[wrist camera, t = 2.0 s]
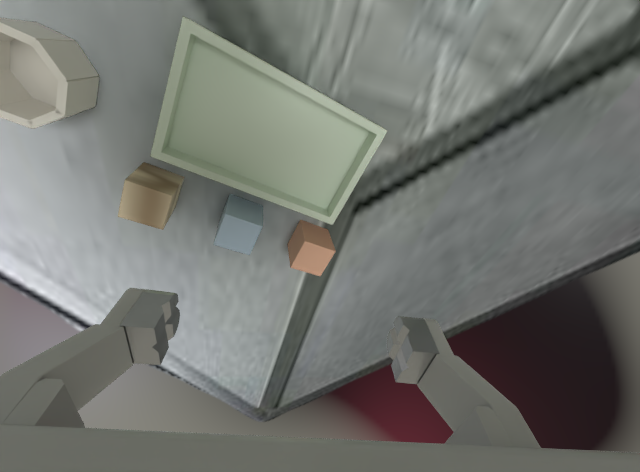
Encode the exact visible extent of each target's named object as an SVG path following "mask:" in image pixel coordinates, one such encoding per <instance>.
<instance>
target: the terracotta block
mask: <svg viewBox="0 0 640 472" xmlns="http://www.w3.org/2000/svg"><path fill="white" fill-rule="evenodd" d="M288 251H289V259H290V267H291V268H294V269H297V270H301V271H304V272H307V273H311V274H314V275H318V276H321V274H322V273H323V271H324V269H325V268H326V266H327V265H328V263H329V261H330V260H331V258H332V256H333V255H334V253H335V252H336V251H335V248H334V245H333V242H332V240H331V237H330V234H329V231H328V229H325V228H322V227H319V226H317V225H314V224H311V223H308V222H306V221H303V220H300V221H299V223H298V225H297V227H296V229H295V231H294V233H293V235H292V237H291V239H290V241H289V243H288Z"/></svg>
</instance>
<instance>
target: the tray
mask: <svg viewBox="0 0 640 472" xmlns="http://www.w3.org/2000/svg"><path fill="white" fill-rule="evenodd" d="M386 133H387V130H385V129H384V128H382V127H381V126H379V125H377V124H376V123H374V122H372V121H370V120H368V119H367V118H365V117H363V116H361V115H360V114H358V113H356V112H354V111H352V110H351V109H349V108H347V107H345V106H344V105H342V104H340V103H338V102H336V101H335V100H333V99H331V98H329V97H328V96H326V95H324V94H322V93H320V92H319V91H317V90H315V89H313V88H312V87H310V86H308V85H306V84H304V83H303V82H301V81H299V80H297V79H295V78H294V77H292V76H290V75H288V74H287V73H285V72H283V71H281V70H279V69H278V68H276V67H274V66H272V65H271V64H269V63H267V62H265V61H263V60H262V59H260V58H258V57H256V56H255V55H253V54H251V53H249V52H247V51H246V50H244V49H242V48H240V47H238V46H237V45H235V44H233V43H231V42H230V41H228V40H226V39H224V38H222V37H221V36H219V35H217V34H215V33H214V32H212V31H210V30H208V29H206V28H205V27H203V26H201V25H199V24H198V23H196V22H194V21H192V20H190V19H188V18H186V17H184V16H183V18H182V22H181V26H180V30H179V35H178V39H177V43H176V48H175V52H174V56H173V61H172V65H171V69H170V73H169V78H168V82H167V86H166V91H165V95H164V99H163V104H162V108H161V112H160V116H159V121H158V125H157V129H156V134H155V138H154V142H153V147H152V151H151V155H150V157H153V158H156V159H158V160H161V161H164V162H166V163H169V164H172V165H174V166H177V167H180V168H182V169H185V170H188V171H190V172H193V173H196V174H198V175H201V176H204V177H206V178H209V179H212V180H214V181H217V182H220V183H222V184H225V185H228V186H230V187H233V188H236V189H238V190H241V191H243V192H246V193H249V194H251V195H254V196H257V197H259V198H262V199H265V200H267V201H270V202H273V203H275V204H278V205H281V206H283V207H286V208H289V209H291V210H294V211H297V212H299V213H302V214H305V215H307V216H310V217H313V218H315V219H318V220H321V221H323V222H326V223H329V224H331V225H333V223H334V222H335V220H336V218H337V216H338V215H339V213H340V211H341V210H342V208H343V206H344V204H345V203H346V201H347V199H348V198H349V196H350V194H351V193H352V191H353V189H354V187H355V186H356V184H357V182H358V181H359V179H360V177H361V175H362V174H363V172H364V170H365V169H366V167H367V165H368V163H369V162H370V160H371V158H372V157H373V155H374V153H375V152H376V150H377V148H378V146H379V145H380V143H381V141H382V140H383V138H384V136H385V134H386Z"/></svg>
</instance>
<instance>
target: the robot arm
mask: <svg viewBox="0 0 640 472" xmlns="http://www.w3.org/2000/svg"><path fill="white" fill-rule="evenodd" d="M177 303H178V295H177V294H176V293H170V292H162V291H155V290H147V289H146V290H145V289H137V288H129V289H128V290H126V291H125V293H124V294H123V295H122V297H121V298H120V299H119V301H118V302H117V303H116V304H115V306H114V307H113V308H112V310H111V311H110V312H109V314H108V315H107V316H106V318H105V319H104V320H103V322H102V323H101V324H100V325H99V324H95V325H93V326H91V327H89V328H87V329H85V330H84V331H82V332H80V333H78V334H76V335H74V336H72V337H71V338H69V339H67V340H65V341H63V342H61V343H59V344H58V345H56V346H54V347H52V348H50V349H48V350H46V351H44V352H43V353H41V354H39V355H37V356H35V357H33V358H31V359H30V360H28V361H26V362H24V363H22V364H20V365H18V366H17V367H15V368H13V369H11V370H9V371H7V372H5V373H4V374H2V375H1V376H0V472H640V453H635V452H611V451H589V450H567V449H544V448H540V446H539V444H538V442H537V441H536V439H535V438H534V436H533V434H532V432H531V431H530V429H529V427H528V425H527V424H526V422H525V420H524V419H523V417H522V415H521V414H520V412H519V410H518V409H517V407H515V406H514V405H513V404H512V403H511V402H510V401H509V400H507V399H506V398H505V397H504V396H503V395H502V394H501V393H499V392H498V391H497V390H496V389H495V388H494V387H493V386H491V385H490V384H489V383H488V382H487V381H486V380H485V379H483V378H482V377H481V376H480V375H479V374H478V373H476V372H475V371H474V370H473V369H472V368H471V367H470V366H468V365H467V364H466V363H465V362H464V361H463V360H462V359H460V358H459V357H458V356H454V355H453V353H452V351H451V348H450V346H449V344H448V342H447V340H446V338H445V336H444V334H443V332H442V330H441V328H440V326H439V324H438V322H437V321H436V320H434V319H424V318H422V319H421V318H413V317H403V316H397V317H396V318H395V320H394V322H393V324H394V328H393V329H391V330H390V331H389V333H388V336H387V343H386V344H387V351H388V355H389V356H390V357H391V358H392V359H393V360H394V361H393V363H392V365H391V366H392V370H393V373H394V377H395V380H396V382H401V383H411V384H418V385H417V386H418V387H419V388H420V390H421V391H422V392H423V393H424V394H425V396H426V397H427V398H428V400H429V401H430V402H431V403H432V405H433V406H434V407H435V408H436V410H437V411H438V412H439V414H440V415H441V416H442V417H443V419H444V420H445V421H446V422H447V424H448V425H449V426H450V427H451V429H452V430H453V431H454V433H453V434H452V435H451V436H450V438H449V439H448V440H447V442H446V443H445V444H432V443H409V442H387V441H365V440H342V439H322V438H298V437H277V436H254V435H230V434H209V433H185V432H163V431H141V430H119V429H97V428H96V429H95V428H85V426H84V423H83V421H82V419H81V417H80V415H79V413H78V410H79V409H80V408H82V407H83V406H84V405H85V404H87V403H88V402H89V401H90V400H91V399H92V398H94V397H95V396H96V395H97V394H99V393H100V392H101V391H102V390H103V389H105V388H106V387H107V386H108V385H110V384H111V383H112V382H113V381H114V380H116V379H117V378H118V377H119V376H120V375H122V374H123V373H124V372H125V371H126V370H128V369H129V368H130V367H131V366H133V364H154V365H161V363H162V360H163V358H164V356H165V354H166V352H167V350H168V348H169V346H168V340H170V339H171V338H172V337H174V335H175V333H176V330H177V327H178V324H179V318H180V312H179V309H178V308H177V307H176V305H177Z"/></svg>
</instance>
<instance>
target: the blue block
mask: <svg viewBox="0 0 640 472" xmlns="http://www.w3.org/2000/svg"><path fill="white" fill-rule="evenodd" d="M262 228H263V206H262V205H259V204H257V203H254V202H251V201H249V200H246V199H243V198H240V197H238V196H235V195H232V194H230V195H229V198H228V200H227V203H226V205H225V208H224V211H223V213H222V216H221V219H220V221H219V225H218V229H217V233H216V236H215V240H214V244H213V245H216V246H219V247H223V248H226V249H230V250H233V251H236V252H240V253H243V254H247V255H250V253H251V251H252V249H253V247H254V245H255V243H256V240H257V238H258V236H259V234H260V232H261V230H262Z"/></svg>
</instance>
